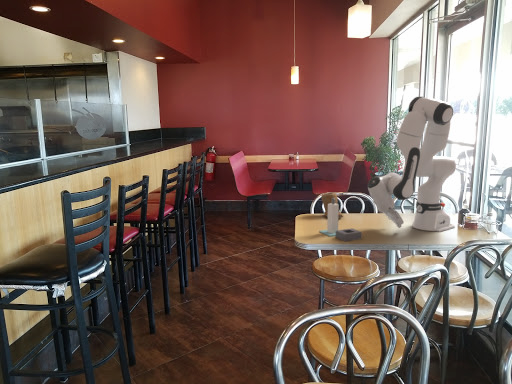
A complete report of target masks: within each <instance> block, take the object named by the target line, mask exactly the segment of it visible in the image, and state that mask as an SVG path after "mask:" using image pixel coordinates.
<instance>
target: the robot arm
mask: <svg viewBox="0 0 512 384" xmlns="http://www.w3.org/2000/svg"><path fill="white" fill-rule="evenodd" d="M453 116H454V108H453V106H452V105H451V104H450V103H448V102H447V101H442V100H440V99H436V98H430V97H425V96H415V97H414V98H413V99H412V100H411V101H410V103H409V105H408V112H407V113H406V115H405V117H404V119H403V121H402V123H401V125H400V127H399V130H398V133H397V138H396V145H397V148H398V149H399V150H400V151H399V152H401V154H402V155H403V159H404V167H403V171H402V175H400V174H398V173H396V172H394V171H392V172H388V173H387V174H385V175H382V176H374V177H372V178H371V179H370V180H368V182H367V189H368V192H369V194H370V197H371V199H372V202H373V204H375V205H376V208H377V209H378V212H380V213H383V214H384V215H385V216H386V217H387V218H388V220H391V221H392V222H393V223H394V224H395V225H396V227H397V228H398V229H400V228H402V225H403V224H404V220H403V218H402V216H401V215H400V213H399V212H398V210H396V209H395V206H396V203H395V201H394V198H393V197H392V195H393V196H394V197H395V198H396V199H397V200H399V201H406V200H408V199H410V198H411V197H412V196H414V192H415V188H416V187H415V183H416V182H415V180H416V178H417V177H418V178H427V180H426V182H424V183H422V184H420V185H419V186H418V189H417V196H416V197H417V200H416V203H415V213H414V214H415V215H414V219H413V222H412V228H414V229H417V230H421V231H427V232H428V231H430V232H431V231H432V232H444V231H447V230H451V229H454V228H455V226H456V225H454V224H453V223H451V217H450V215H449V214H448V213H446V212H445V211H444V210H443V208H445V206H446V203H445V202H440V200H441V191H442V187H443V185H444V183H445V182H446V180H447V179H448V178H449V177H451V176H452V175H453V174H454V173H455V171H456V170H457V168H456V167H457V164H456V161H455V159H454V158H453V157H451V156H450V157H449V156H444V155H437V154H438V153H441V151H444V150H445V148H447V145H448V140H449V135H450V130H451V120H452V118H453ZM426 124H427V125H426ZM425 127H426V128H425ZM424 131H425V133H424ZM423 135H424V137H423ZM422 138H423V141H422ZM421 143H422V144H421Z"/></svg>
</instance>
